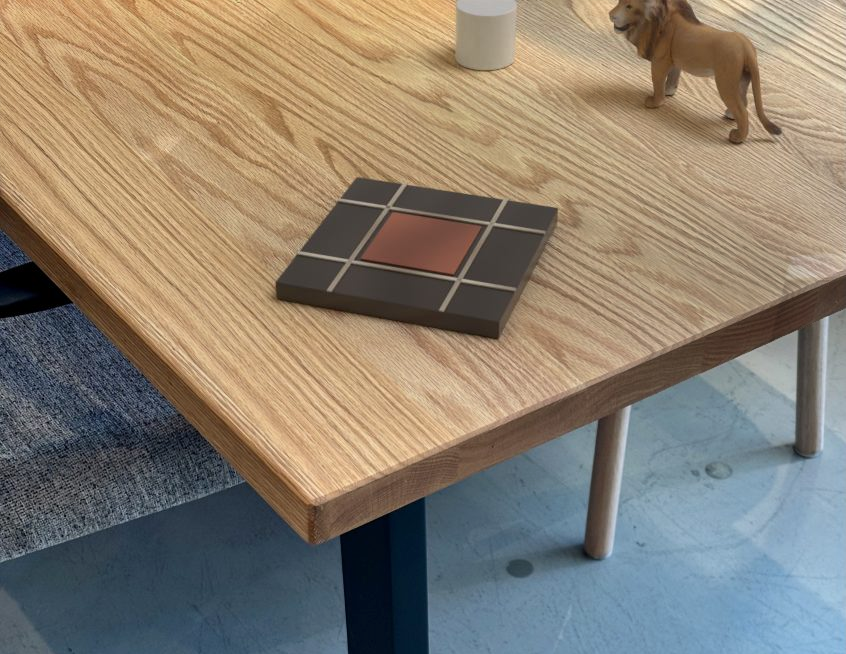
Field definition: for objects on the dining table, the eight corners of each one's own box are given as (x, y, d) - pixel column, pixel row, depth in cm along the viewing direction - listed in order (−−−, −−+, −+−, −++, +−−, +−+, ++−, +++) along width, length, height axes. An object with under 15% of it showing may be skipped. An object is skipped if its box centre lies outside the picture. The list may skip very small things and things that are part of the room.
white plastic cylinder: (521, 50, 108) (524, -4, 105) (505, 74, 104) (507, 18, 101) (465, 43, 109) (465, -11, 106) (447, 66, 106) (447, 11, 103)
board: (557, 223, 87) (558, 206, 86) (498, 339, 77) (499, 320, 76) (357, 192, 90) (356, 175, 89) (276, 299, 80) (274, 280, 79)
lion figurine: (591, 98, 101) (600, -22, 95) (629, 75, 104) (641, -43, 98) (762, 154, 94) (784, 28, 88) (798, 128, 97) (822, 4, 91)
